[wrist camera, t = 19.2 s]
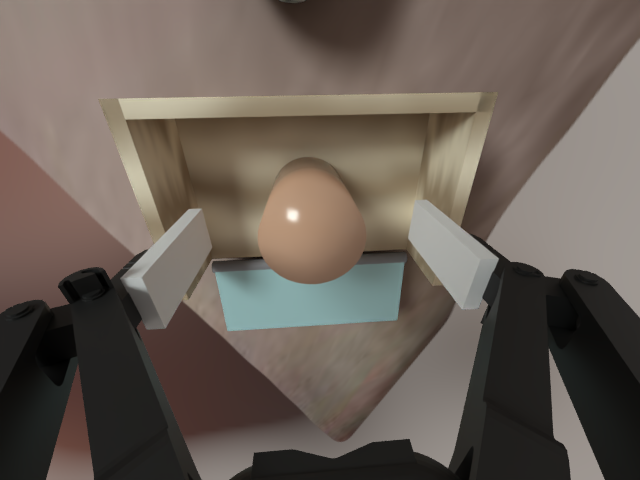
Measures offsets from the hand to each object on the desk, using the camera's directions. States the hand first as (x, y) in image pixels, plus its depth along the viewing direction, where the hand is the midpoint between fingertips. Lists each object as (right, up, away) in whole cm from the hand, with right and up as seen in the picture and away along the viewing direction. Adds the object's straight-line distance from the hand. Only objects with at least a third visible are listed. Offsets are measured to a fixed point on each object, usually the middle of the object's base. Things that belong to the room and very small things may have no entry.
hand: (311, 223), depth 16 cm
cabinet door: (0, -3, +10) cm, 11 cm away
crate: (-1, +5, +9) cm, 11 cm away
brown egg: (0, +3, +7) cm, 8 cm away
